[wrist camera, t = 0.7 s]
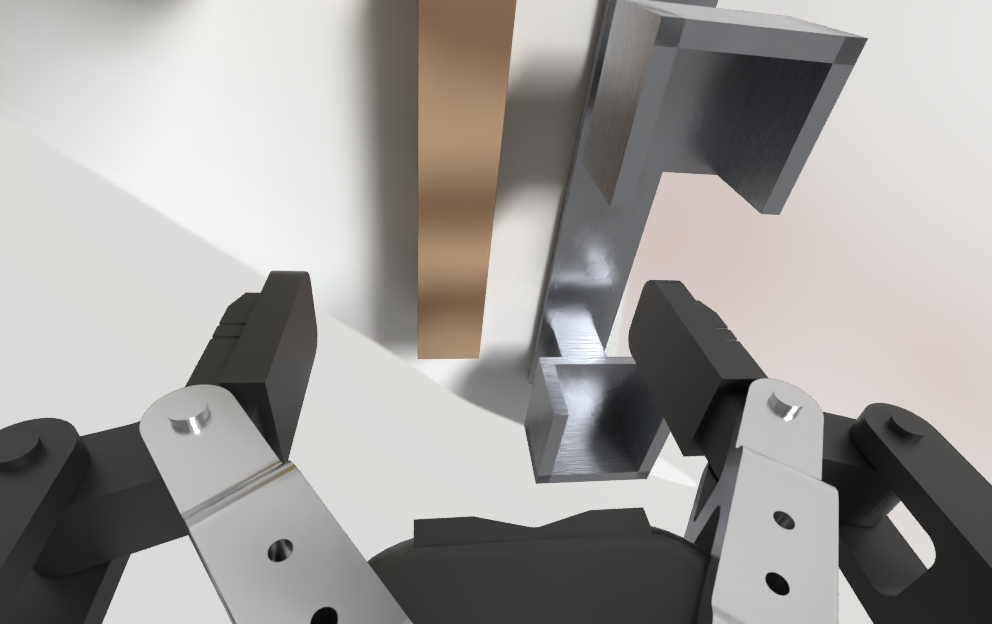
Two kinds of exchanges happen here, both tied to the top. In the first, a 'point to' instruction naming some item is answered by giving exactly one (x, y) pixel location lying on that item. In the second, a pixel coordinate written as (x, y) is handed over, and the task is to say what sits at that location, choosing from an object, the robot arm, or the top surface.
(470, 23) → the rail
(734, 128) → the bracket stand
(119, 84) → the top surface
